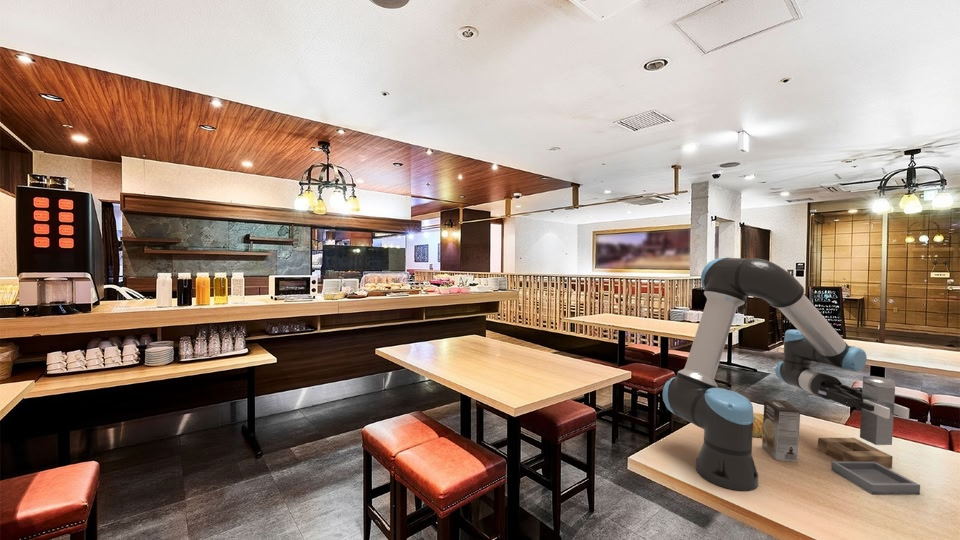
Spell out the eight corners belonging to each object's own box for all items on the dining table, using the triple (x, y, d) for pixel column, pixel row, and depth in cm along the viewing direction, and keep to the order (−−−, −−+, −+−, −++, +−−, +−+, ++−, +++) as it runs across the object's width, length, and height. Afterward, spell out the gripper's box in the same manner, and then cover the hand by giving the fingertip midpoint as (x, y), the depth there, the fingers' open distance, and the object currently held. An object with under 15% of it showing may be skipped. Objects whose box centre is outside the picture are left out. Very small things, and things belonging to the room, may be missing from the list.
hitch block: (852, 467, 118) (853, 456, 118) (817, 448, 130) (818, 437, 130) (891, 467, 119) (892, 456, 119) (853, 448, 131) (854, 437, 131)
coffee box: (760, 446, 131) (762, 398, 131) (782, 448, 130) (784, 400, 129) (775, 460, 122) (777, 409, 122) (799, 462, 121) (801, 411, 120)
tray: (872, 494, 105) (872, 485, 105) (831, 469, 117) (831, 461, 117) (919, 494, 106) (920, 485, 105) (874, 469, 118) (874, 461, 117)
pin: (875, 446, 108) (879, 383, 107) (853, 435, 114) (856, 375, 113) (899, 446, 108) (902, 383, 107) (875, 435, 114) (878, 375, 113)
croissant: (736, 447, 138) (745, 432, 134) (716, 423, 146) (725, 408, 142) (787, 441, 141) (798, 426, 137) (766, 418, 150) (775, 403, 146)
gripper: (846, 395, 129) (929, 427, 106) (793, 395, 128) (864, 427, 105) (847, 373, 129) (931, 399, 105) (794, 372, 128) (866, 399, 105)
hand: (897, 413), depth 105 cm, fingers closed on pin, 4 cm apart
